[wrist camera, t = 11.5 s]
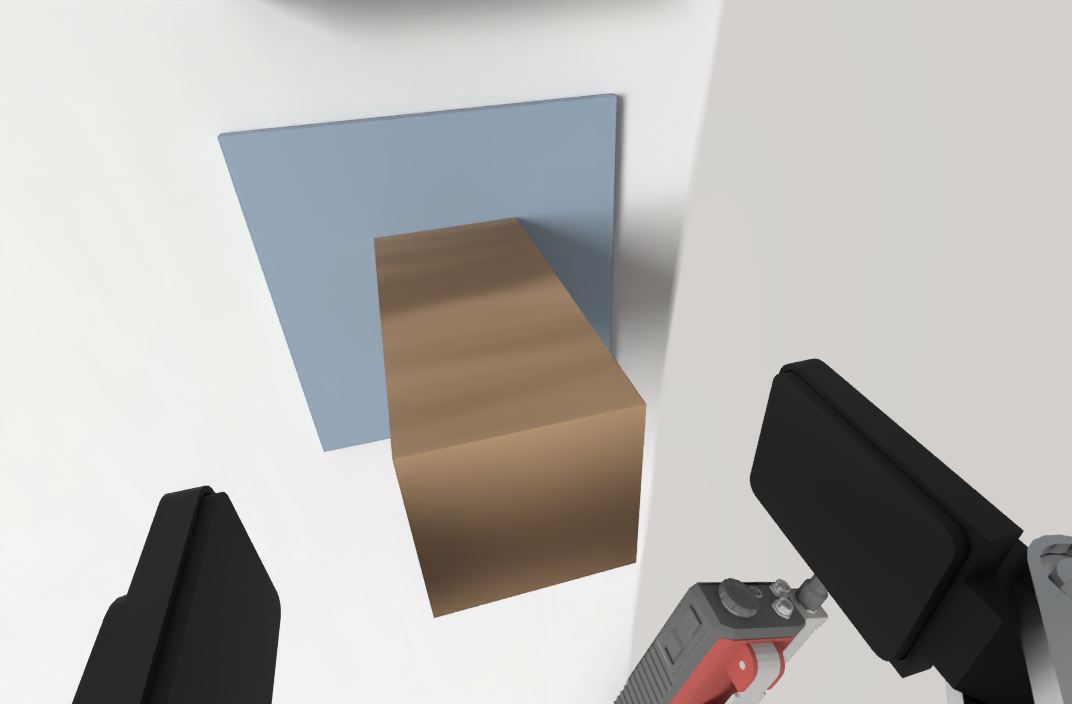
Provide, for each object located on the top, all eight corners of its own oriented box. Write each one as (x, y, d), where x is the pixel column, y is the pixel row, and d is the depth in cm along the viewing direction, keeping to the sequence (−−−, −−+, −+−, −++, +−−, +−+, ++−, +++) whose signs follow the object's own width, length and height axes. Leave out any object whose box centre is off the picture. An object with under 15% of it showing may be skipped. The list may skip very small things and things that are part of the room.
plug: (373, 238, 16) (392, 459, 8) (515, 217, 17) (645, 404, 9) (400, 359, 18) (434, 618, 11) (524, 335, 19) (636, 562, 11)
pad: (220, 133, 14) (217, 136, 14) (611, 93, 16) (616, 96, 15) (324, 444, 19) (323, 451, 19) (605, 386, 21) (608, 392, 21)
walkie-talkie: (708, 700, 39) (883, 482, 31) (744, 773, 36) (955, 549, 27) (597, 712, 36) (759, 470, 27) (625, 794, 32) (822, 545, 24)
